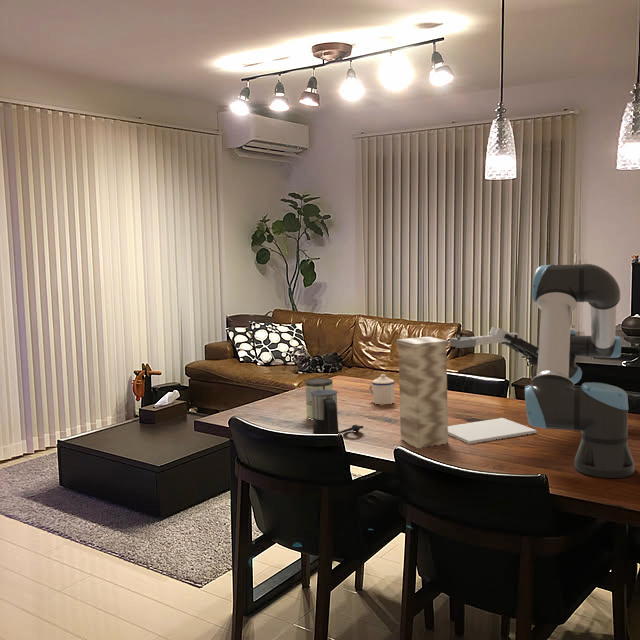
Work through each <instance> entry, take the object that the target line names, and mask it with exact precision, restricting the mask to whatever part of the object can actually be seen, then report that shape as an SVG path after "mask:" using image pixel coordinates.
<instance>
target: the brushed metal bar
mask: <svg viewBox="0 0 640 640" xmlns="http://www.w3.org/2000/svg"><path fill="white" fill-rule="evenodd" d="M508 333H509V334H511V335H513V337H514V336H515V335H518V337H517V338H518V339H519V333H518V332H508ZM501 342H506V341H504V340H503V339H501V338H499V337H497V336H496V335H490V334H488V335H478V336H470V337H468V336H461V335H460V334H459V335H456V337H451V338H449V346H451V347H454V348H458V349H462V348H463V349H464V348H471V347H477V346H480V345H488V344H489V345H490V344H501Z"/></svg>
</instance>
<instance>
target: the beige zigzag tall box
mask: <svg viewBox="0 0 640 640" xmlns="http://www.w3.org/2000/svg"><path fill="white" fill-rule="evenodd" d="M395 343H396V344H398V346H397V348H398V377H399V378H398V381H399V382H398V384H399V386H398V387H399V414H400V415H399V417H400V418H399V421H400V424H399V425H400V440H401V439H403V440H404V441H405V442H404V441H403V442H404V443H406V442H407V443H406V444H408V445H410V446H411V447H413V446H414V448H415V447H416V448H415V449H417V448H419V449H423V448H422V447H425V448H429V447H428V446H431V447H435V446H434V445H437V446H442V445H441V444H444V445H448V444H449V435H448V426H449V422H448V421H449V419H448V417H449V416H448V415H449V414H448V369H447V368H448V363H447V362H448V361H447V360H448V359H447V345H450V340H447V339H442V338H436V337H434V336H421V337H418V336H417V337H409V338H400V339H395ZM447 443H448V444H447Z"/></svg>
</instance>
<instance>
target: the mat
mask: <svg viewBox="0 0 640 640" xmlns="http://www.w3.org/2000/svg"><path fill="white" fill-rule="evenodd" d="M533 433H534V434H537V430H536V429H534V428H531V427H529V426H526V425H523V424H521V423H518V422H515V421H513V420H510V419H507V418H505V417H499V418H493V419H487V420H486V419H485V420H480V421H479V420H478V421H473V422H468V423H460V424H459V423H458V424H453V425H448V436H451V437H452V436H453V438H454V437H455V438H454V439H457V440H458V441H461V440H462V442H463V441H464V442H463V443H465V442H466V443H465V444H468V445H473V444H478V442H479V443H484V441H485V442H489V441H495V440H496V439H497V440H502V438H503V439H508V437H509V438H515V437H521V435H522V436H527V434H528V435H533ZM497 440H496V441H497Z"/></svg>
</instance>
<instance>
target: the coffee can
mask: <svg viewBox="0 0 640 640" xmlns="http://www.w3.org/2000/svg"><path fill="white" fill-rule="evenodd" d="M304 383H305V384H304V385H305V401H306V402H305V404H306V418H307V417H308V418H311V419H313V415H312V395H311V392H313V391H317V390H334V389H333V379H332V378H325V377H315V378H310V379H307V380H304Z"/></svg>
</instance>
